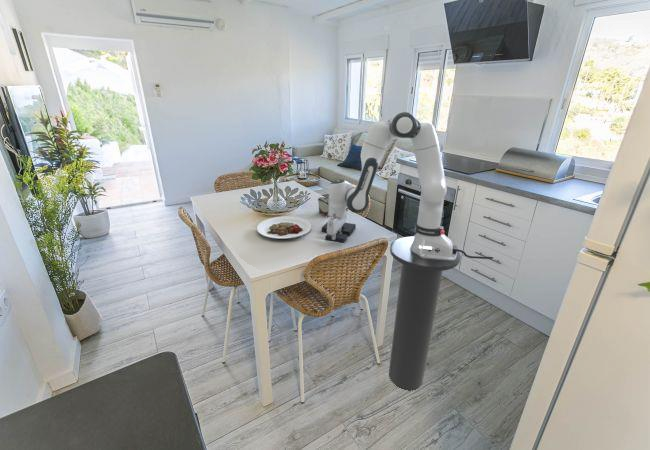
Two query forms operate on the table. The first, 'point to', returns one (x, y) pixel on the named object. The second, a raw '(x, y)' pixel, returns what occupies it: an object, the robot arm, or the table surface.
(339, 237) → the grey pad
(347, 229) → the black pad
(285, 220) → the plated food
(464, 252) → the robot arm
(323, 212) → the food container
